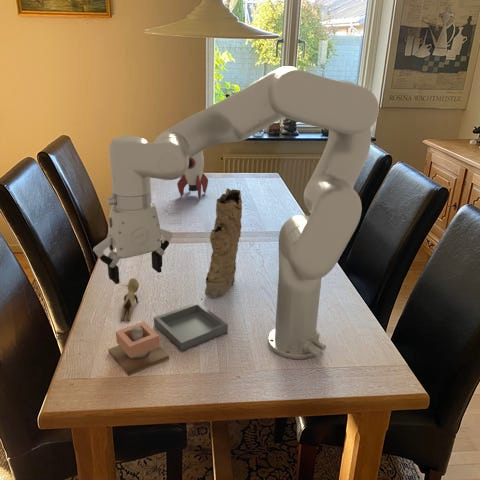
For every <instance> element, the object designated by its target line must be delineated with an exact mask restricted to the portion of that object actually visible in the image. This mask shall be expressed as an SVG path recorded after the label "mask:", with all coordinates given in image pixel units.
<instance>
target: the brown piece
mask: <svg viewBox="0 0 480 480" xmlns="http://www.w3.org/2000/svg"><path fill="white" fill-rule="evenodd" d="M131 332H132V342H133V341H136V340H139V339H141V338H143V329H142V328H141V327H134V328H132V330H131ZM108 354H109V355H110V356H111V357H112V359H113V358H114V359H113V360H114V361H115V362H116V363H117V365H118V366H119V367H120V368H121V369H122V371H124V373H125V374H126V375H127V376H128V377H129V376H132V375H134V374H136V373H137V374H138V373H140V372H142V371H143V370H147V369H149V368H152V367H153V366H156V365H158V364H161V363H163V362H166V361H168V360H170V355H169V353H167V352H166V351H165V350H164V348H162V346H160V347H158V348H156V349H153V350H151V351H148V352H146V353H143V354H141V355H138V356H136V357H133V358H130V357H129V356H128V355H127V354H126V353H125V351H124V350H123V349H122V348H121V347H120V346H119V345H118V344H117V345H116V346H113V347H111V348H108Z"/></svg>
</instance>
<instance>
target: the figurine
mask: <svg viewBox="0 0 480 480" xmlns="http://www.w3.org/2000/svg"><path fill="white" fill-rule="evenodd" d="M139 287H140V284H139V281H138V279H137V278H134V277H132V278H130V279H129V280H128V283H127V291H128V292H127V293H126V294H125V295H124V296H123V302H124V304H123V307H122V311H121V321H120V322H122V321H123V322H125V318H126V315H127V318H126V321H127V322H130V321H131V319H132V313H133V307H134V303H135V302H136V304H138V303H139V298H138V296H137V295H136V294H135V293H137V292H138V290H139Z"/></svg>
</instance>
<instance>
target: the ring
mask: <svg viewBox="0 0 480 480" xmlns="http://www.w3.org/2000/svg"><path fill="white" fill-rule="evenodd" d="M134 327H141V328H142V329H143V338H141V339H139V340H136V341H133V342H132V332H131V330H132V328H134ZM115 339H116V344H117V346H118V345H119V346H120V347H121V348H122V349H123V350H124V351H125V353H126V354H127V355H128V356H129V357H130V358H133V357H136V356H138V355H141V354H143V353H146V352H148V351H151V350H153V349H156V348H158V347H161V346H160V335H159V334H157V332H156V331H155V330H154V329H152V327H150V325H149V324H148V323H147V322H146V321H141V322H138V323H136V324H133V325H130V326H127V327H124V328H121V329H118V330H115Z"/></svg>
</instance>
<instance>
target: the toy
mask: <svg viewBox="0 0 480 480" xmlns="http://www.w3.org/2000/svg"><path fill="white" fill-rule="evenodd" d="M204 167H205V157H204V150H203V151H201V152H199V153H198V154H196V155H194V156H192V157H191V158H189V166H188V169H187V171H186V172H185V174H184V175H183V176H181V177H180V178H179V180H178V181H177V189H178V193H179V195H180V196H181V197H183V195H184V194H185V193H184V192H185V190H184V189H185V187H186V186H188V191H189V192H197V196H198V199H199V200H201V197H202V196H201V195H202V192H203V193H204V194H206V192H207V190H208V185H209V179H208V177H207V176H206V175H205V174H204V169H205V168H204ZM181 197H180V198H181Z"/></svg>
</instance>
